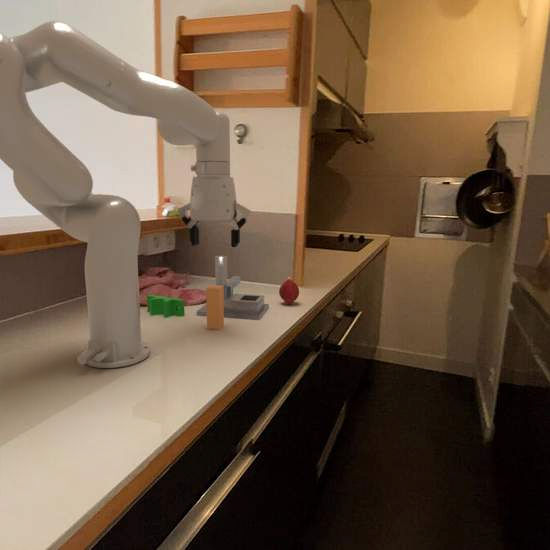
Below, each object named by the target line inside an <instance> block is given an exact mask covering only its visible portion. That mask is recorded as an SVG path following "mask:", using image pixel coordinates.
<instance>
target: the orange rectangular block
mask: <svg viewBox="0 0 550 550" xmlns="http://www.w3.org/2000/svg"><path fill="white" fill-rule="evenodd" d="M205 290H206V303H205V305H206V304H207V316H206V329H208V330H219V331H220V330H221V329H222V328H223V327H224V324H225V319H224V318H225V317H224V293H223V286H217V285H216V284H215V285H213V284H210V285H209V286H207V287H206V289H205Z"/></svg>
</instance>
